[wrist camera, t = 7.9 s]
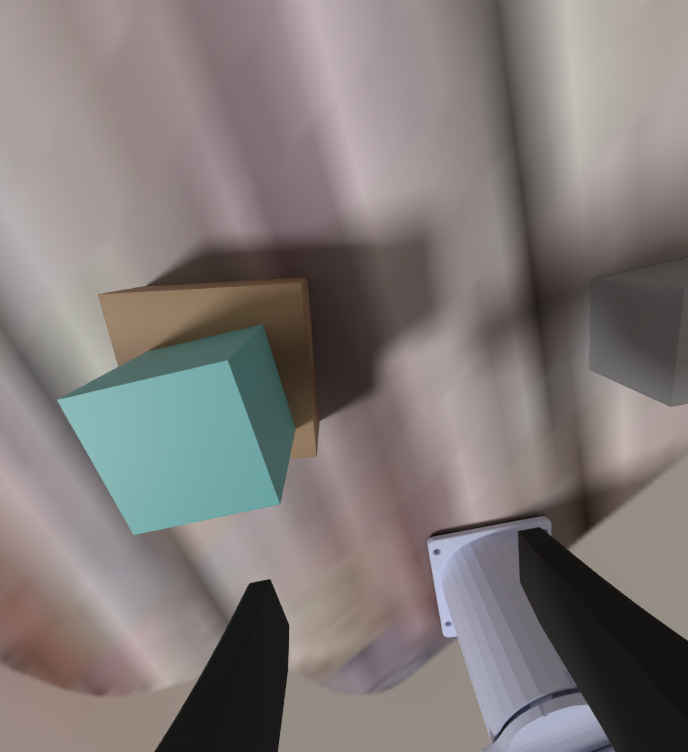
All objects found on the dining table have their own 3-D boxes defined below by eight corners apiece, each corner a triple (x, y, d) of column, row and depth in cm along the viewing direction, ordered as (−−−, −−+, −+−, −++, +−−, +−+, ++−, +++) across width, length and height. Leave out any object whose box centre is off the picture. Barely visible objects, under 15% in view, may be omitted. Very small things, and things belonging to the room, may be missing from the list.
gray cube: (679, 349, 19) (793, 382, 14) (588, 369, 19) (670, 407, 14) (690, 256, 17) (823, 257, 13) (590, 278, 18) (684, 288, 13)
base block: (319, 418, 20) (316, 456, 16) (182, 426, 20) (147, 466, 16) (307, 276, 17) (300, 283, 14) (149, 285, 17) (97, 294, 14)
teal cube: (295, 429, 16) (279, 504, 11) (192, 451, 16) (133, 534, 11) (262, 324, 14) (227, 360, 9) (147, 351, 14) (57, 399, 10)
